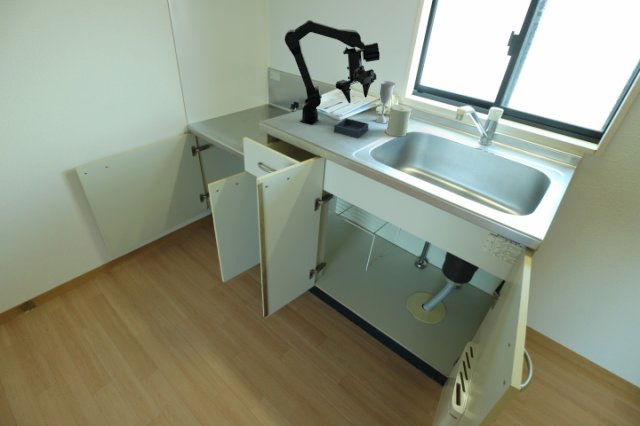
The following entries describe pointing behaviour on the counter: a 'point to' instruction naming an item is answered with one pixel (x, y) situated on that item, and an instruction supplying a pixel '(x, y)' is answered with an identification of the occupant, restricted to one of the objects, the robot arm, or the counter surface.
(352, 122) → the bin
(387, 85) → the chalice
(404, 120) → the can
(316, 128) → the counter surface
